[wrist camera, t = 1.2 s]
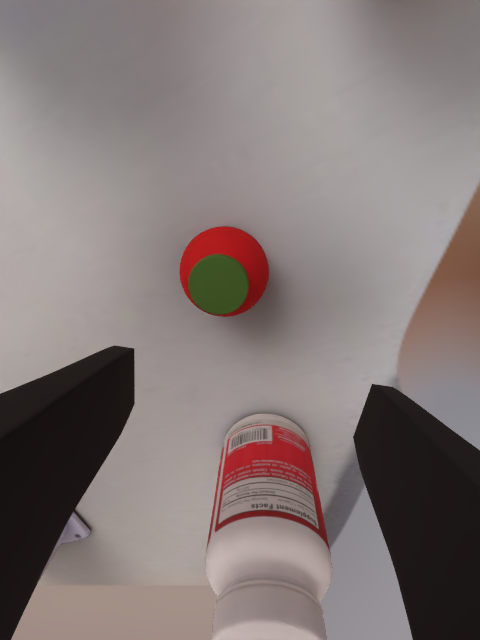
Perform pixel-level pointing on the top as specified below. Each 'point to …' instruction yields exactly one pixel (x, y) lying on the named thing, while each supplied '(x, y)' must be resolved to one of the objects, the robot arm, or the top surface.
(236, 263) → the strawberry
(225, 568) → the pill bottle
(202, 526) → the top surface
